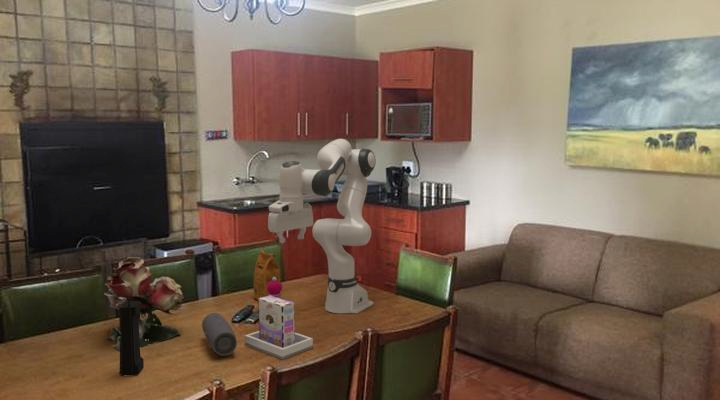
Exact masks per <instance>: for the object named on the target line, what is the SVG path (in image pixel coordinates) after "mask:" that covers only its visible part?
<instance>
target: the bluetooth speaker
mask: <svg viewBox="0 0 720 400" xmlns="http://www.w3.org/2000/svg"><path fill="white" fill-rule="evenodd" d="M201 329H202V331H203V335H204V336H205V339H206V341H207V343H208V344H209V346H210V347H211V349H212V351H214V353H215V354H217V355H219V356H228V355H231V354H232V353H233V352H235V350H236V348H237V345H238V341H237V337H236V334H235V332H234V330H233V328H232V327H231V325H230V324H229V322H228V321H227V320H226V319H225V317H224V316H223V315H221V314H220V313H218V312H211V313H208V314H207V315H206V316H205V317H204V318H203V320H202V324H201Z"/></svg>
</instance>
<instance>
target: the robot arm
mask: <svg viewBox="0 0 720 400" xmlns="http://www.w3.org/2000/svg"><path fill="white" fill-rule="evenodd" d="M316 156H317V157H316V159H317V160H316V161H317V165H318V166H319V167H320V169H313V168H312V169H308V168H304V167H302V163H301V162H299V161H296V160H294V161H293V160H291V161H285V162H284V163H282V164H281V166H280V169H279V178H278V179H279V180H278V186H279V191H280V193H279V196H278V197H279V198H278V200H277V201H275V202H274V203H271V204H270V205H269V206H268V211H269V214H268V217H267V228H268V231H269V232H270V233H276V235H277V237H278V241H279V243H280V244H284V243H286V238H285V237H284V232H287V231H291V230H298V229H299V230H300V231H299V234H297V239H298V240H304V239H305V233H306V232H307V228H310V227H312V230H311V231H312V237H313V238H314V240H315V241H316V242H317V243H318V244H319V245H320V246H321V247H322V249H323V250H324V252H325V255H326V257H327V258H326V259H327V266H328V276H327V289H326V290H327V291H326V299H325V302H324V305H325V306H324V310H325V311H327V312H329V313H334V314H359V313H360V312H362V311H364V310H366V309H369V307H371V306H373V305H374V302H373V301H372V300H370V299H369V295H368V291H367V290H366V289H365V288H363V286H361V285H360V284H358V282H357V281H359V282H360V281H361V280H362V276H361V275H355V259H354V257H353V256H352V255H351V254H350V253H348V252H347V251H346V250H345V249H344V247H343V246H350V247H359V246H365V245H367V244H368V243H369V242H370V239H371V237H372V229H371V227H370V225H369V223H368V222H366V220H364V218H363V207H364V203H365V199H366V197H367V192H368V179H367V178H368V177H370V176H371V174H372V172H373V171H374V169H375V166H376V164H377V161H376V155H375V153H374V152H373V151H372V149H369V148H360V149H359V148H357V149H352V145H351V144H350V142H349V141H348V140H347V139H345V138H337V139H334V140H331V141H330V142H329V143H326V144H325V145H324V146H323V147H322V148H321V149H320V150H319V151H318V153H317V155H316ZM341 176H346V180H345V182H344V183H343V186H342V187H341V191H340V193H339V197H338V199H337V203H336V208H337V211H338V213H339V214H340V215H341V216H342V217H344V218H331V217H330V218H329V217H328V218H327V217H326V218H321V219H317V220H316V221H315V222H314V214H313V213H314V212H313V209H312V205H311V204H310V203H309V202H305V203H304V195H314V196H315V195H317V196H320V197H321V196H322V197H327V196H329V195H330V194H331V193H333V191H334V189H335V186H336V184H337V182H338V181H339V180H340V178H341ZM303 194H304V195H303Z"/></svg>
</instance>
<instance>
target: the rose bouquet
mask: <svg viewBox="0 0 720 400" xmlns="http://www.w3.org/2000/svg"><path fill="white" fill-rule="evenodd" d="M144 264H145V259H142V258H141V257H139V256H138V257H137V256H131V257H130V256H129V257H127V258H125V259H121V261H119V262H118V267H117V268H115V267H113V268H112V271H114V272H113V273H110V274H109V275H108V277H107V278H106V281H110V282H105V283H104V285H105V286H107V287H108V289H107V292H103V294H104V295H105V296H106V297H107V299H108V300H109V303H110V304H109V306H110V307H111V308H114V309H117V310H119V308H120V307H121V306H122V305H123V304H124V303H125V302H126V301H128V299H130V300H129V301H140V302H141V310H140V311H139V312H138V316H139V338H140V347H141V348H144V347H147V346H149V345H148V344H151V345H153V344H155V343H157V342H159V341H165V340H170V339H172V338H174V337H176V336H178V335H179V336H180V335H181V333H180V331H179V330H178V329H177V328H172V327H171V326H167V325H165V324H164V323H162V321H161V319H159V317H158V315H157V314H155V312H154V311H160V312H162V313H165V314H167V315H169V316H171V315H174V316H176V317H177V316H178V315H177V314H175V313H172V312H170V311H174V312H175V311H179V309H181V308H182V301H183V299H185V296H184V294H183V292H182V290H181V288H182V286H181V284H178V283H176V281H175V279H173V278H170V277H169V276H161V277H159V278H158V277H156V278H154V279H153V280H152V283H150V281H151V276H152V273H151V272H150V267H149V266H145V265H144ZM177 302H179V303H177ZM145 317H146V318H145ZM141 318H142V319H143V320H142V319H141ZM110 331H111V332H110V335H108V336H106V338H107V339H106V340H112V341H114V342H116V344H111V346H112V347H113V348H115V349H116V350H117V351H118V352H120V343H121V332H120V327H116V326H115V327H111V328H110ZM145 339H149V341H145Z"/></svg>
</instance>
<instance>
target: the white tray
mask: <svg viewBox="0 0 720 400" xmlns="http://www.w3.org/2000/svg"><path fill="white" fill-rule="evenodd" d="M244 345H245V346H247V347H249V348H252V349H255V350H257V351H260V352H262V353H265V354H267V355H269V356H272V357H275V358H277V359H279V360H282V361H283V360H285V359H288V358H290V357H293V356H296V355H298V354H300V353H303V352H304V353H305V352H307V351H308V350H312V349H313V348H314V338H313V337H309V336H307V335H304V334H302V333H299V332H295V344H292V345H289V346H287V347H284V348H282V347H279V346H276V345H274V344H271V343H268V342H266V341H263V340H260V339H259V330H258V331H255V332H254V331H253V332H251V333H248V334H245V335H244Z"/></svg>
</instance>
